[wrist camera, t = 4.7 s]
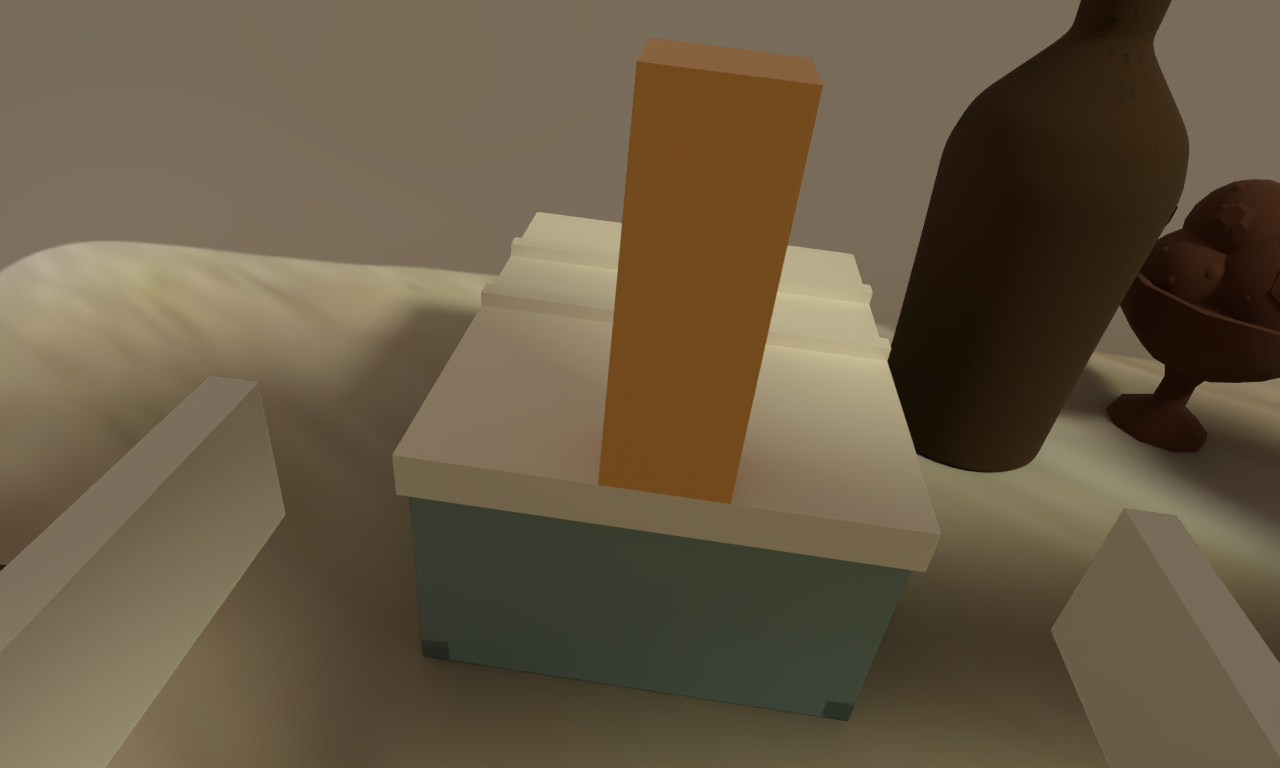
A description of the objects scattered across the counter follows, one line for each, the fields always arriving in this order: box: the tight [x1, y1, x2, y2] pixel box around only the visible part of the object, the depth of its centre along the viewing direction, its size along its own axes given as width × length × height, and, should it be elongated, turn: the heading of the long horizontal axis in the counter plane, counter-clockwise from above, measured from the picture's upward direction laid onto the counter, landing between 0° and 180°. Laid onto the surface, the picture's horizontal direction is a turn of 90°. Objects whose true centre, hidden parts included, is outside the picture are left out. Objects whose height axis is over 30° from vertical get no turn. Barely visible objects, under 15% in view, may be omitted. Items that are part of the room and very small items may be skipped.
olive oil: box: [887, 0, 1189, 472], centre depth 39 cm, size 11×11×25 cm
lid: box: [392, 38, 942, 572], centre depth 29 cm, size 17×21×14 cm
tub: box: [410, 497, 911, 721], centre depth 35 cm, size 16×20×8 cm
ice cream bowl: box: [1106, 179, 1280, 452], centre depth 44 cm, size 11×11×15 cm
